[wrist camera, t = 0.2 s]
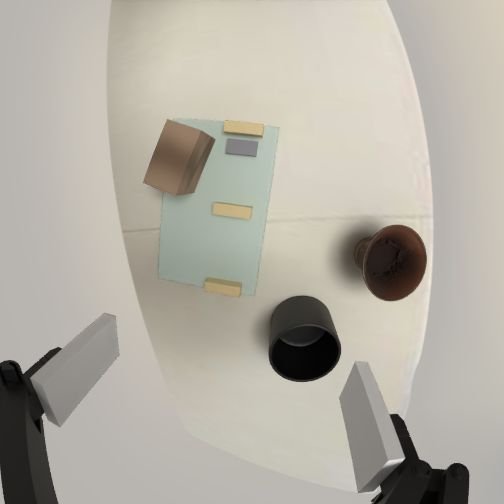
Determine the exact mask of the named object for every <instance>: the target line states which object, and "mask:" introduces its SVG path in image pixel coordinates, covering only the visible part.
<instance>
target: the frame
mask: <svg viewBox="0 0 504 504" xmlns="http://www.w3.org/2000/svg"><path fill="white" fill-rule="evenodd" d="M215 140H216V139H214V138H213V137H211V136H210V135H208V134H206V133H205V132H203V131H202V130H199V129H196V128H193V127H190V126H187V125H184V124H181V123H178V122H175V121H171V120H168V119H167V121H166V123H165V126H164V128H163V131H162V133H161V136H160V138H159V140H158V143H157V146H156V148H155V151H154V153H153V156H152V159H151V161H150V164H149V167H148V170H147V173H146V175H145V178H144V181H143V183H145V184H147V185H150V186H152V187H155V188H157V189H159V190H162V191H164V192H167V193H169V194H172V195H174V196H178V195H184V194H190V193H194V192H195V189H196V187H197V184H198V182H199V179H200V177H201V174H202V172H203V169H204V167H205V164H206V162H207V159H208V157H209V155H210V152H211V150H212V147H213V145H214V143H215Z"/></svg>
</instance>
